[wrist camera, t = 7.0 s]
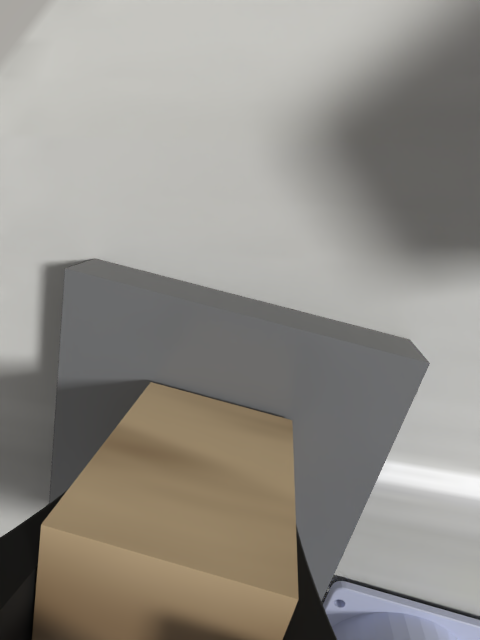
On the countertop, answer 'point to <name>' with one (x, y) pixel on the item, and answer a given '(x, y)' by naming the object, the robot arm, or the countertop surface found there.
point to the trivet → (235, 384)
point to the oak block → (175, 529)
